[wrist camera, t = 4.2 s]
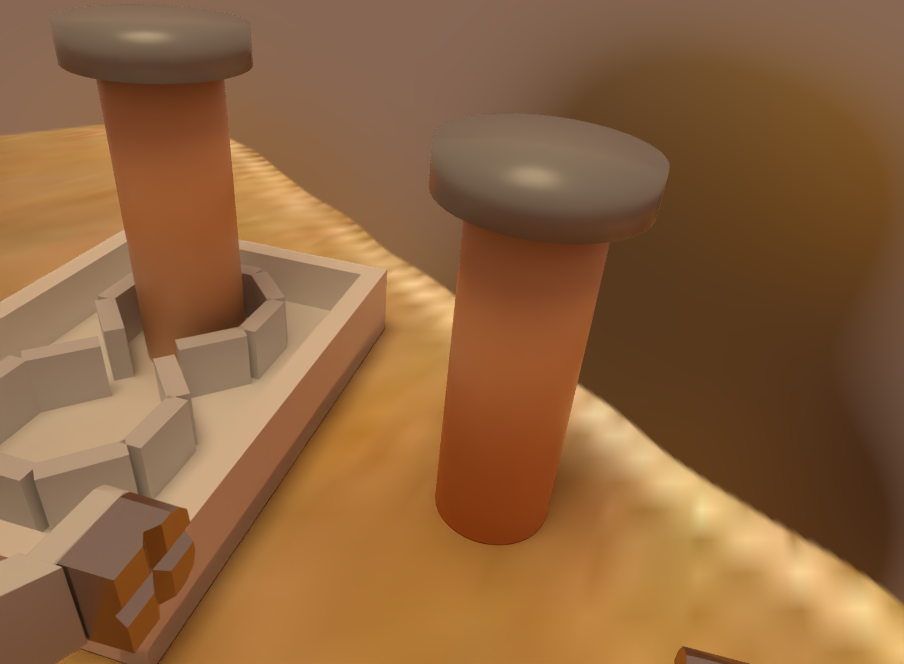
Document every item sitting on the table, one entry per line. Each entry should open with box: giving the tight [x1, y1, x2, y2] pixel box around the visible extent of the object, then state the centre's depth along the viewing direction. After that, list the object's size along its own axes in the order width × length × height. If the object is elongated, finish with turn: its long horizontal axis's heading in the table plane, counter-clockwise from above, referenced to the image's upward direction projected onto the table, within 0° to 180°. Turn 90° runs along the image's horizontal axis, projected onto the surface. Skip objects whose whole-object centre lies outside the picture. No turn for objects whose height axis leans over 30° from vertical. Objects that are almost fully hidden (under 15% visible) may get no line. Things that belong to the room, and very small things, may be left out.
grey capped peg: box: [49, 5, 253, 364], centre depth 28 cm, size 7×7×14 cm
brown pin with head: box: [429, 113, 670, 545], centre depth 23 cm, size 7×7×14 cm
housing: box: [0, 230, 387, 664], centre depth 28 cm, size 20×14×4 cm
